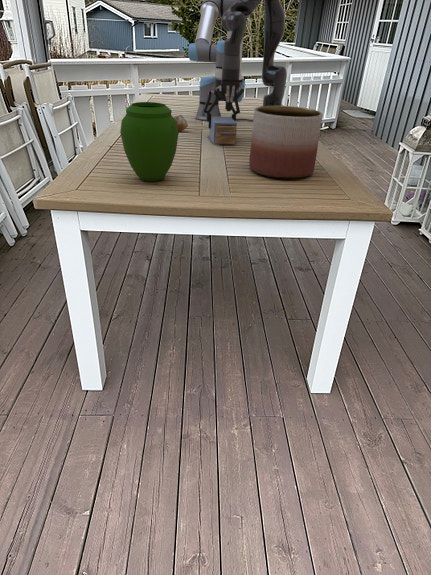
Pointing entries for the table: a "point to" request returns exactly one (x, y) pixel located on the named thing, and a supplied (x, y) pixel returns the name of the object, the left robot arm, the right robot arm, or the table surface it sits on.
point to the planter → (284, 141)
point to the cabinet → (219, 121)
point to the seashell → (181, 122)
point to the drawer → (226, 134)
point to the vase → (149, 139)
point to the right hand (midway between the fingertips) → (228, 111)
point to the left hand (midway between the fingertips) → (220, 128)
